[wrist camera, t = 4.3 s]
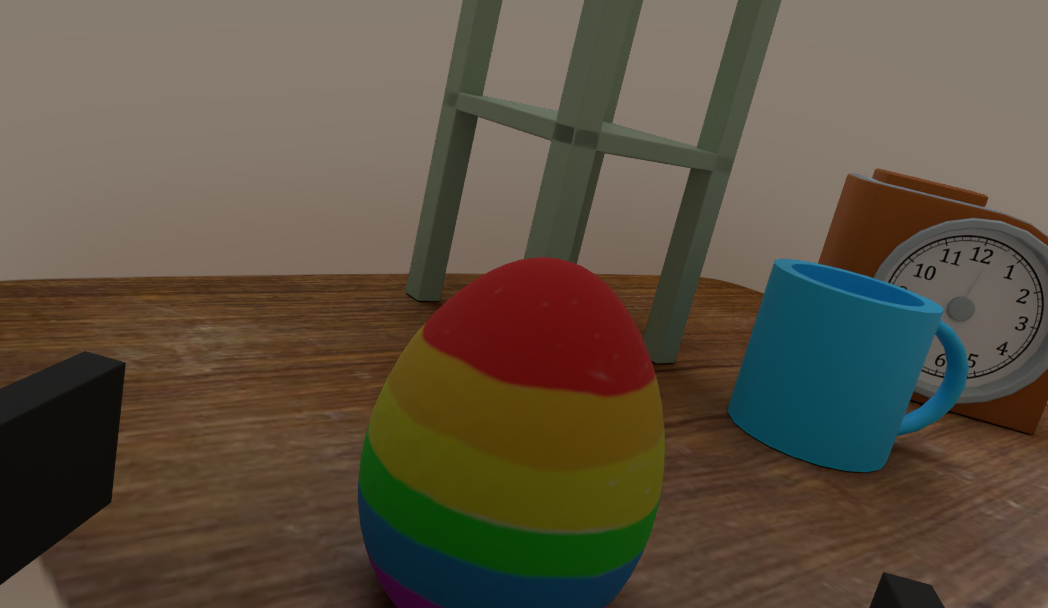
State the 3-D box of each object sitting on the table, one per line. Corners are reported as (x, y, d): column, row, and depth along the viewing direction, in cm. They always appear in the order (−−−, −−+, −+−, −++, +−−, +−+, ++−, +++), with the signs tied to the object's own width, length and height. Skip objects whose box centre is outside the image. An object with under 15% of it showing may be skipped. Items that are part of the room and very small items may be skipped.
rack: (517, 371, 42) (720, -471, 32) (404, 292, 51) (538, -388, 41) (674, 363, 49) (877, -323, 40) (553, 295, 58) (694, -280, 49)
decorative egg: (540, 508, 29) (612, 236, 27) (674, 673, 22) (789, 329, 20) (310, 519, 25) (366, 202, 23) (386, 722, 18) (480, 302, 16)
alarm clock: (798, 369, 54) (866, 167, 51) (788, 337, 62) (847, 160, 59) (1035, 437, 52) (1125, 229, 48) (994, 394, 60) (1068, 213, 56)
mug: (768, 459, 38) (824, 293, 36) (704, 389, 46) (747, 249, 44) (986, 491, 41) (1051, 337, 39) (891, 419, 49) (940, 288, 46)
